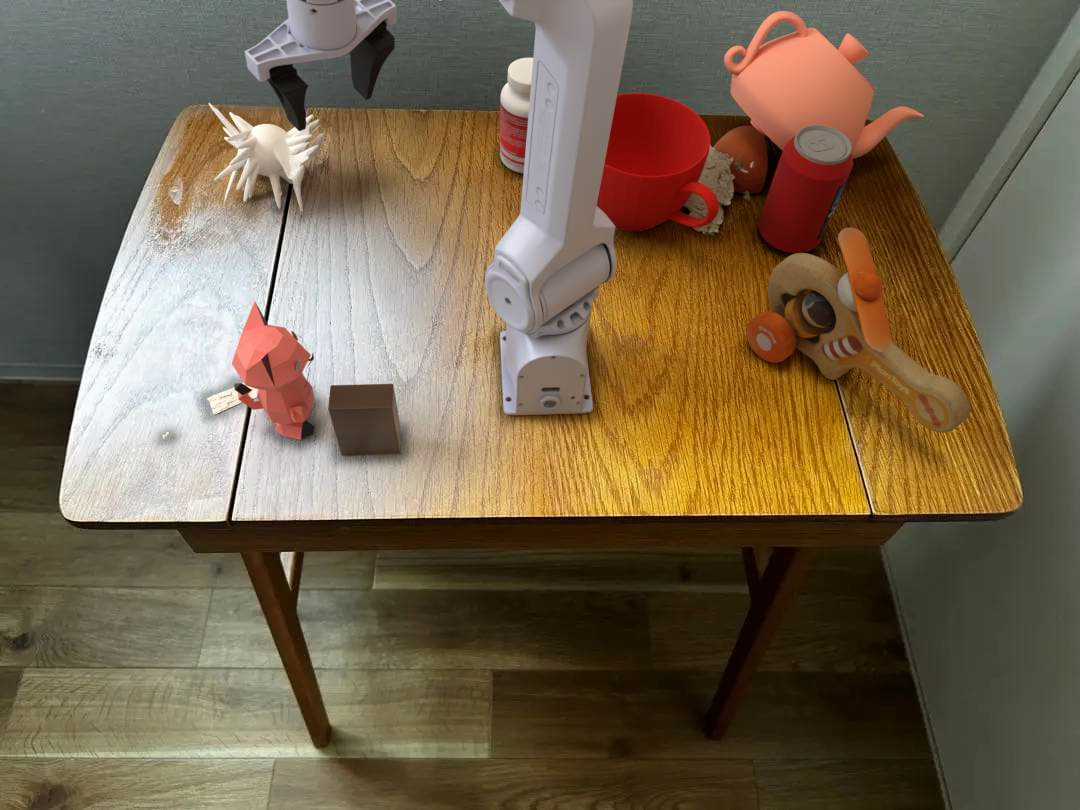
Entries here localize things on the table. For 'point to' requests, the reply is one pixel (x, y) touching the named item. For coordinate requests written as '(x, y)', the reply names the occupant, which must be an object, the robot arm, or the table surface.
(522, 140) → the pill bottle
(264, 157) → the spiky ball
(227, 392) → the card
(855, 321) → the toy helicopter
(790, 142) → the beverage can
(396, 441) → the walnut block
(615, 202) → the ceramic cup
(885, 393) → the table surface
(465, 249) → the table surface
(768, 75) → the teapot
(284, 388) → the cat figurine
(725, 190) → the stone fragment
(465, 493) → the table surface
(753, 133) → the brown egg
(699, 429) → the table surface
